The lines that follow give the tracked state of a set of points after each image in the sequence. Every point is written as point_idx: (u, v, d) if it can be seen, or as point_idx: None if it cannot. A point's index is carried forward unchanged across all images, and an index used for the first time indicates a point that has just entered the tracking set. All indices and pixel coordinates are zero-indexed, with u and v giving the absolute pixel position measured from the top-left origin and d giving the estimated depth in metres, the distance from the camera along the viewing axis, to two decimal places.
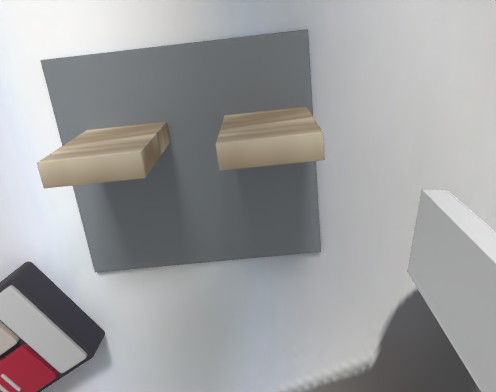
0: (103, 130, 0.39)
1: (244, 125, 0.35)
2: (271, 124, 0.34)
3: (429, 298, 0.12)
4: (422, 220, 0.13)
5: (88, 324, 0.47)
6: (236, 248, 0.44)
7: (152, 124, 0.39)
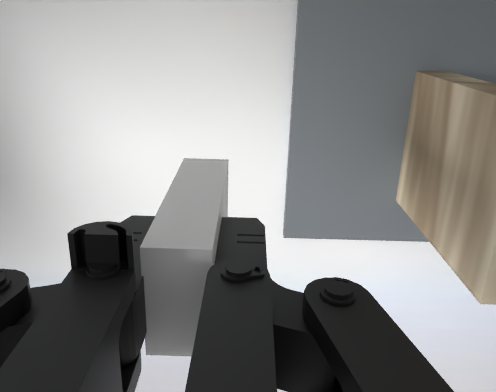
0: (406, 176, 0.24)
1: None
2: None
3: None
4: None
5: None
6: None
7: (417, 95, 0.23)
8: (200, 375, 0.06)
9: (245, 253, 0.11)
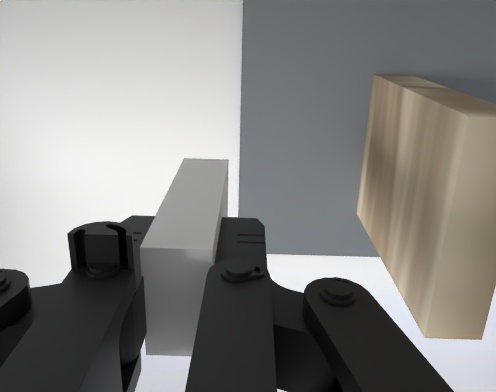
0: (365, 188, 0.22)
1: None
2: None
3: None
4: None
5: None
6: None
7: (374, 100, 0.21)
8: (200, 375, 0.06)
9: (245, 253, 0.11)
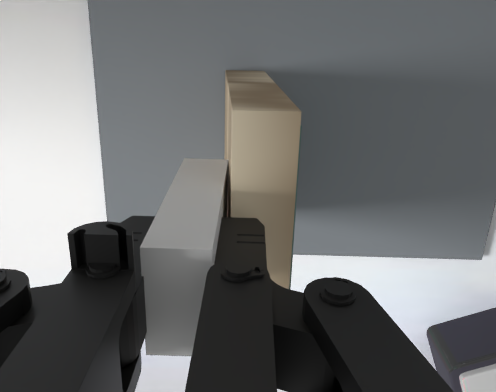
0: None
1: None
2: None
3: None
4: None
5: None
6: None
7: (225, 97, 0.21)
8: (200, 375, 0.06)
9: (245, 253, 0.11)
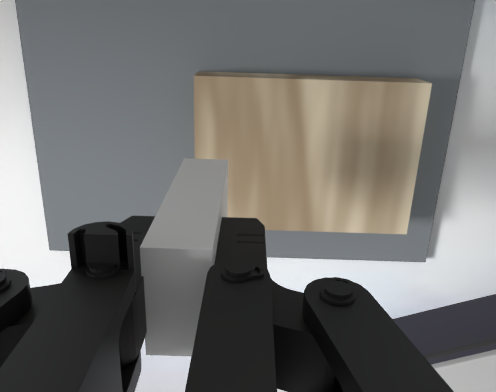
0: None
1: None
2: None
3: None
4: None
5: None
6: None
7: (209, 103, 0.20)
8: (200, 375, 0.06)
9: (245, 253, 0.11)
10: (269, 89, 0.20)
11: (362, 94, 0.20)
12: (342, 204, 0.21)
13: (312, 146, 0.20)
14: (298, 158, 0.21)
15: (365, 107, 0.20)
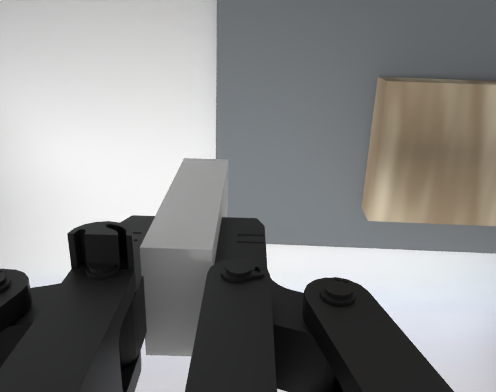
0: (394, 189, 0.23)
1: None
2: None
3: None
4: None
5: None
6: None
7: (397, 106, 0.22)
8: (200, 375, 0.06)
9: (245, 253, 0.11)
10: (455, 93, 0.21)
11: None
12: None
13: (488, 146, 0.22)
14: (473, 157, 0.22)
15: None
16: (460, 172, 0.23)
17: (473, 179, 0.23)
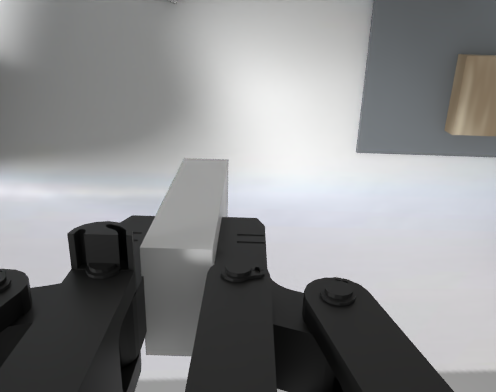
0: (467, 116, 0.42)
1: None
2: None
3: None
4: None
5: None
6: None
7: (472, 69, 0.40)
8: (200, 375, 0.06)
9: (245, 253, 0.11)
10: None
11: None
12: None
13: None
14: None
15: None
16: None
17: None
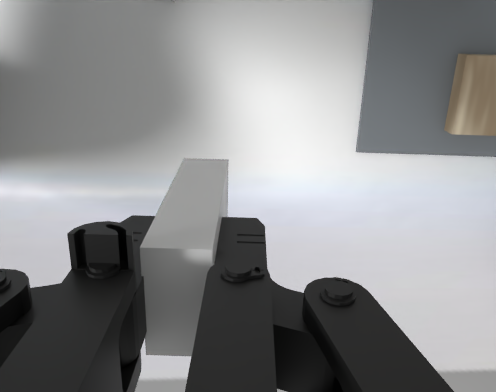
0: (467, 115, 0.42)
1: None
2: None
3: None
4: None
5: None
6: None
7: (471, 68, 0.40)
8: (200, 375, 0.06)
9: (245, 253, 0.11)
10: None
11: None
12: None
13: None
14: None
15: None
16: None
17: None
